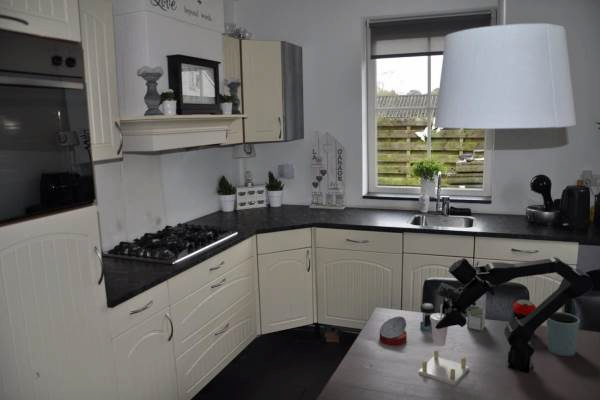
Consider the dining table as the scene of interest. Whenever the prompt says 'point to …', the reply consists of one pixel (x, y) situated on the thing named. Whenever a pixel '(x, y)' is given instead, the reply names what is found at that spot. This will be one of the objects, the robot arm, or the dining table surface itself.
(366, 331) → the dining table surface
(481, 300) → the syrup box
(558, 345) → the teal cylindrical pot
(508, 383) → the dining table surface
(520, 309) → the soda can
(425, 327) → the push button
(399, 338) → the canned food
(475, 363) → the dining table surface
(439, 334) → the smoothie
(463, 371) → the pin plate
